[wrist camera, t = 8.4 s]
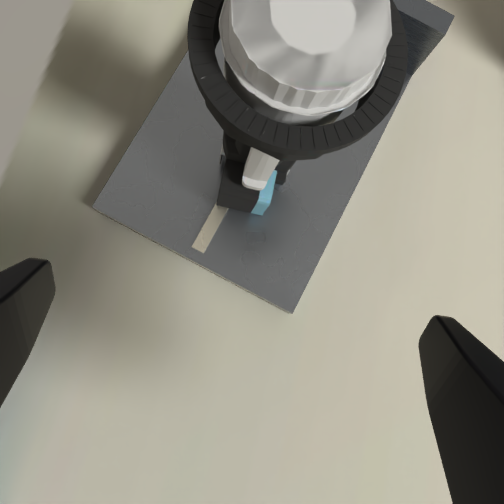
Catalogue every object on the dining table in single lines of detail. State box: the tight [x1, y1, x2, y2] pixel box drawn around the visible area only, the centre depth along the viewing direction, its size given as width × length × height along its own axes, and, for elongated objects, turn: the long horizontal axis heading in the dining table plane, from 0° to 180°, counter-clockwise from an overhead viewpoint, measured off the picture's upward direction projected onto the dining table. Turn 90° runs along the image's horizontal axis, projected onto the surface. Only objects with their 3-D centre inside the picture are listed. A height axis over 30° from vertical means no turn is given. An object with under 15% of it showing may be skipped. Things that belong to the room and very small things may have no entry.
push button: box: [188, 0, 408, 215], centre depth 14 cm, size 7×5×10 cm
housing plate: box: [92, 0, 454, 314], centre depth 18 cm, size 14×10×4 cm
